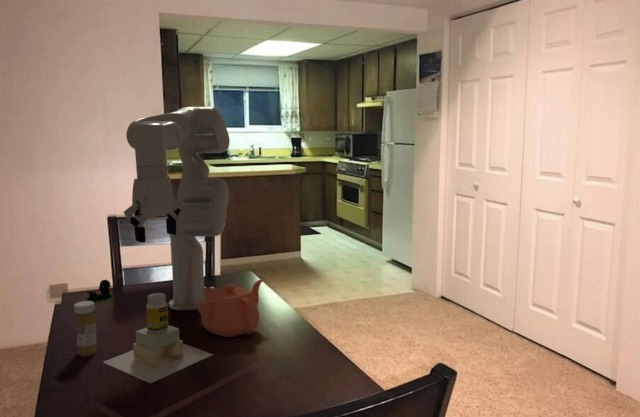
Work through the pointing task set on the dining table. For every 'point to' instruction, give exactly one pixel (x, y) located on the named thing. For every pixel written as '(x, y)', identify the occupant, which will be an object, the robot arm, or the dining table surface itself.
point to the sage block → (157, 338)
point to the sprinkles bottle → (85, 328)
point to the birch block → (158, 354)
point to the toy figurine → (104, 293)
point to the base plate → (152, 374)
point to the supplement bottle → (157, 313)
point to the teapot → (230, 310)
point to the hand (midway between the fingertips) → (156, 237)
